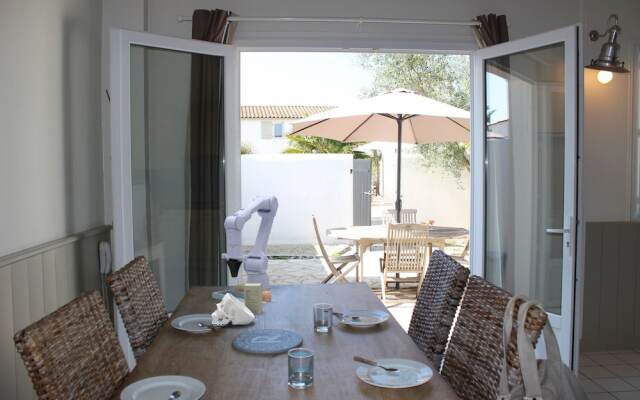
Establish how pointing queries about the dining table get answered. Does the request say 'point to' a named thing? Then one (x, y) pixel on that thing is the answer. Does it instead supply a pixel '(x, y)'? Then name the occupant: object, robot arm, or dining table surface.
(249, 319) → the skull bowl
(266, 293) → the peach rounded cylinder
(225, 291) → the slate board with cubby
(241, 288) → the beech block
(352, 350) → the dining table surface
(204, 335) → the dining table surface
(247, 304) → the skincare box
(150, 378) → the dining table surface
